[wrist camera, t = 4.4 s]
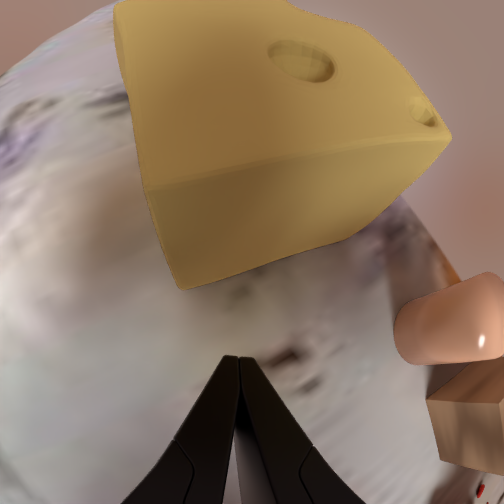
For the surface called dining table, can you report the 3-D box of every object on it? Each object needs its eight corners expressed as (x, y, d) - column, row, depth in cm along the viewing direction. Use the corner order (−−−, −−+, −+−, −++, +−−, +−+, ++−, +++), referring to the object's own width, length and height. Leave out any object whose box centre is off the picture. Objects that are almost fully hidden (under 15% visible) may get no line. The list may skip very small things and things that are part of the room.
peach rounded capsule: (445, 357, 16) (518, 346, 10) (397, 372, 15) (473, 369, 9) (437, 295, 17) (506, 268, 11) (389, 303, 16) (460, 276, 11)
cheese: (286, 110, 20) (328, -12, 11) (356, 249, 17) (473, 149, 8) (136, 139, 18) (108, 0, 8) (174, 306, 15) (122, 219, 5)
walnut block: (485, 418, 14) (548, 419, 9) (439, 459, 13) (505, 476, 8) (472, 360, 16) (540, 350, 10) (424, 399, 15) (498, 403, 9)
